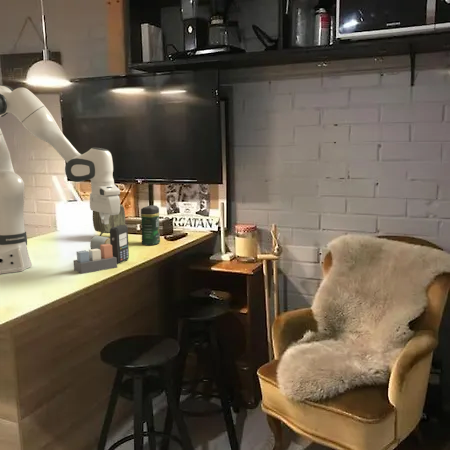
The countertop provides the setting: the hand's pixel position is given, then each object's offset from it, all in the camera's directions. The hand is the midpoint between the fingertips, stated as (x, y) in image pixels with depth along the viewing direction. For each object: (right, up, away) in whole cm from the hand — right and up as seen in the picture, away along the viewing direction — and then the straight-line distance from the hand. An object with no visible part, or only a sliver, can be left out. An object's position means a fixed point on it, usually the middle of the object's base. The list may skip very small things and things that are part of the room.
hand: (105, 223), depth 220 cm
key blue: (-8, -17, -3) cm, 19 cm away
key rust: (0, -14, +2) cm, 14 cm away
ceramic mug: (-7, -13, +30) cm, 34 cm away
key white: (-4, -16, 0) cm, 16 cm away
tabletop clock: (-10, -8, +61) cm, 62 cm away
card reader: (+4, -16, +11) cm, 20 cm away
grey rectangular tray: (-4, -18, 0) cm, 18 cm away
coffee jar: (+12, -10, +47) cm, 49 cm away
